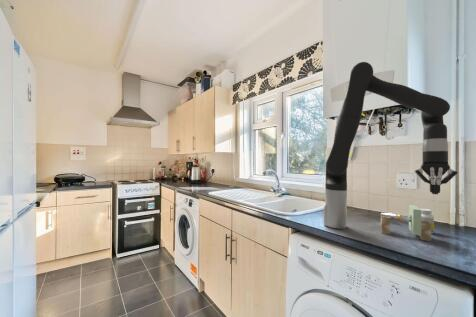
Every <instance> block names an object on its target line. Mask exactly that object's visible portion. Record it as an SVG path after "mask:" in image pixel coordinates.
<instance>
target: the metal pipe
mask: <svg viewBox="0 0 476 317" xmlns="http://www.w3.org/2000/svg"><path fill="white" fill-rule="evenodd" d="M381 216H386V217H390V221H391V220H393V221H398V222H407V223H409V222H412V216H409V215H403V214H397V213H396V214H394V213H388V212H387V213H386V212H380V217H381ZM421 221H426V222H430V219H429V218H423V217H421Z"/></svg>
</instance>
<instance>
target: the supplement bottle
mask: <svg viewBox="0 0 476 317" xmlns="http://www.w3.org/2000/svg"><path fill="white" fill-rule="evenodd" d="M420 209H421V217H423V218H429V219H430V223H431V235H432V234H434V233H435V222H434V220H435V218H434V217H435V216H434V215H432V212H433V211H432V210H431V209H430V208H429V209H428V208H420Z"/></svg>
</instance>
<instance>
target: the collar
mask: <svg viewBox="0 0 476 317" xmlns="http://www.w3.org/2000/svg"><path fill="white" fill-rule="evenodd" d="M421 209H422V208H420V207H418V206H417V205H413V204H409V205H408V216H412V222H408V229H409V231H410V232H411V233H412V235H413V236H418V235H419V236H421ZM419 236H418V237H419Z"/></svg>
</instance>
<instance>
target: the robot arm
mask: <svg viewBox="0 0 476 317" xmlns="http://www.w3.org/2000/svg"><path fill="white" fill-rule="evenodd" d="M366 92H369V93H373V94H375V95H378V96H381V97H382V98H383V97H384V98H385V99H388V100H390V101H392V102H394V103H396V104H399V105H400V106H403V107H405V108H407V109H411V110H412V109H414V110H415V109H416V110H418V111H420V112H421V113H420V117H421V123H422V127H423V133H422V134H423V135H422V138H423V139H422V148H421V152H422V164H421V165H420V167H419V168H418V169H414V173H415V174H416V175H417V176H418V177H419V178H420V179H421V180H422V181H423V182H424V183H426V184H428V185H429V193H431V194H432V195H439V194H440V193H441V185H443V184H447V183H449V182H450V181H451V180H452V179H453V178H454V177H456V175H457V174H458V171H456V170H454V169H452V168H451V167H450V165H449V143H448V142H449V141H448V126H447V125H446V124H444V116H445V115H447V114H448V112H449V111H450V109H451V104H450V103H449V102H448V101H447V100H445V99H443V98H442V97H439V96H436V95H431V94H427V93H424V92H420V91H419V90H417V89H413V88H412V87H409V86H407V85H403V84H400V83H399V84H398V83H394V82H389V81H385V80H382V79H381V78H378V77H377V76H376V75H374V68H373V66H372V65H371V64H370V63H369V62H367V61H361V62H358V63H356V64H355V65H354V66H353V67H352V68H351V70H350V72H349V78H348V86H347V90H346V94H345V98H344V100H343V101H342V104H341V108H340V110H339V114H338V116H337V120H336V126H335V129H334V131H335V132H334V137H333V139H334V140H333V143H332V147H331V150H330V152H329V156H328V158H327V160H326V162H325V195H324V196H325V198H324V200H325V201H324V207H323V210H324V211H323V214H324V215H323V219H324V220H323V225H324V226H325V227H328V228H332V229H346V228H347V218H348V217H347V214H348V212H347V210H348V209H347V208H348V204H347V202H348V181H347V179H348V175H347V174H348V167H349V166H348V165H349V159H350V152H351V149H352V145H353V142H354V140H355V137H356V134H357V132H358V130H359V126H360V123H361V119H362V114H363V110H364V109H363V108H364V103H365V95H366ZM424 173H425V174H426V175H427V176H428V178H427V177H426V176H425V175H424ZM446 173H447V174H446ZM445 174H446V176H445V177H444V178H443V176H444V175H445Z"/></svg>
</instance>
